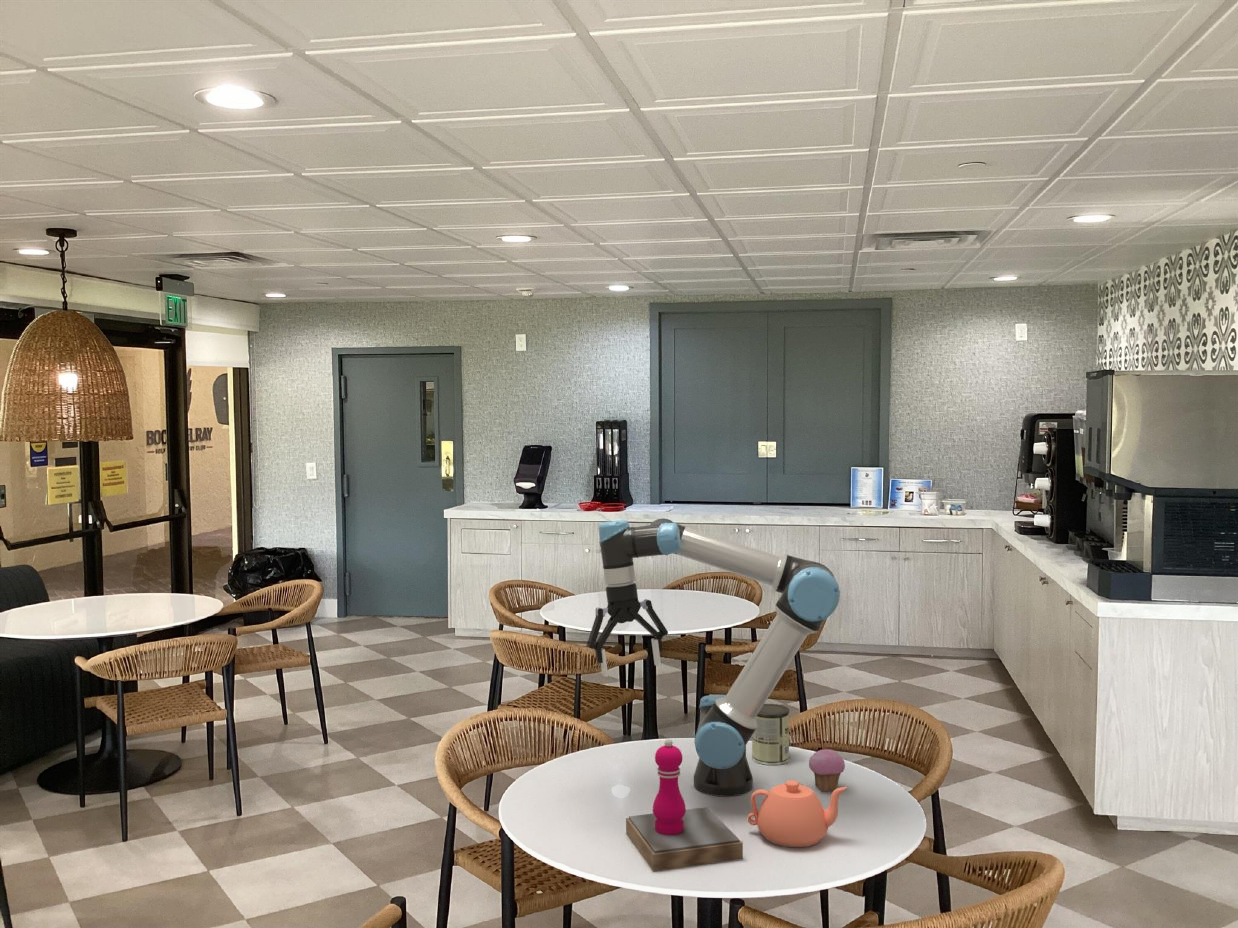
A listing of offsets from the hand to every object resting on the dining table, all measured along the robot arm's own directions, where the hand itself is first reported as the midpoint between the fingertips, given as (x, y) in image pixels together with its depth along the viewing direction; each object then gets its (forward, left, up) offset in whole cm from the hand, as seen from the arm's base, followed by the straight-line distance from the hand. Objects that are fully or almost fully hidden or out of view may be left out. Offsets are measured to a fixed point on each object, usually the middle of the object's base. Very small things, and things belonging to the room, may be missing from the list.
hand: (631, 670), depth 241 cm
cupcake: (-49, +6, -33) cm, 60 cm away
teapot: (-29, +30, -33) cm, 53 cm away
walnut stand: (-3, +27, -33) cm, 42 cm away
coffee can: (-45, -19, -33) cm, 59 cm away
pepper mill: (0, +27, -29) cm, 39 cm away
